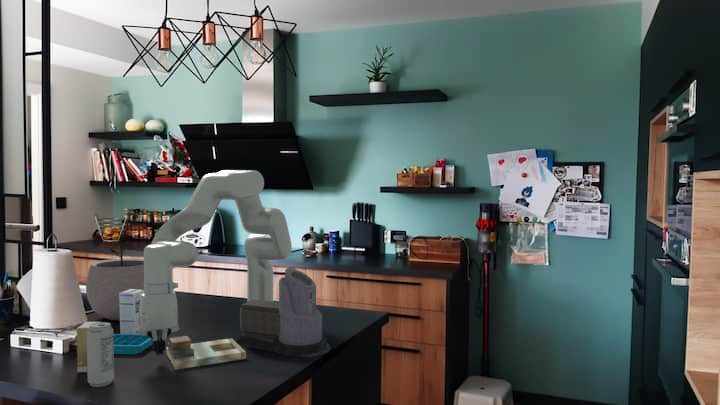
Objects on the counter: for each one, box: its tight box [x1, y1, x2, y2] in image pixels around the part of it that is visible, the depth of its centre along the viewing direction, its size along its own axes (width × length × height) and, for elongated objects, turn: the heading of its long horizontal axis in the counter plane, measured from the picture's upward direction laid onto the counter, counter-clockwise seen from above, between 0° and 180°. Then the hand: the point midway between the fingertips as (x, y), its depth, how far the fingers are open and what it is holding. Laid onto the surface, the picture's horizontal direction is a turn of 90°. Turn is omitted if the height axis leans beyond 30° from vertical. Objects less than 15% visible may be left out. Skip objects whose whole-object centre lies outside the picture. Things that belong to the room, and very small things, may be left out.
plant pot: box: [85, 236, 144, 321], centre depth 201 cm, size 24×24×30 cm
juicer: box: [235, 267, 332, 358], centre depth 170 cm, size 30×16×24 cm, turn 68°
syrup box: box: [119, 289, 144, 335], centre depth 182 cm, size 6×6×14 cm
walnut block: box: [168, 335, 192, 357], centre depth 157 cm, size 5×5×4 cm
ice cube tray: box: [75, 333, 153, 355], centre depth 167 cm, size 12×20×3 cm, turn 87°
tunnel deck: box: [166, 337, 247, 370], centre depth 160 cm, size 20×15×4 cm
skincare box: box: [76, 321, 100, 373], centre depth 149 cm, size 6×4×12 cm
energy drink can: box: [87, 321, 115, 388], centre depth 138 cm, size 6×6×15 cm
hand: (159, 353), depth 154 cm, fingers closed
